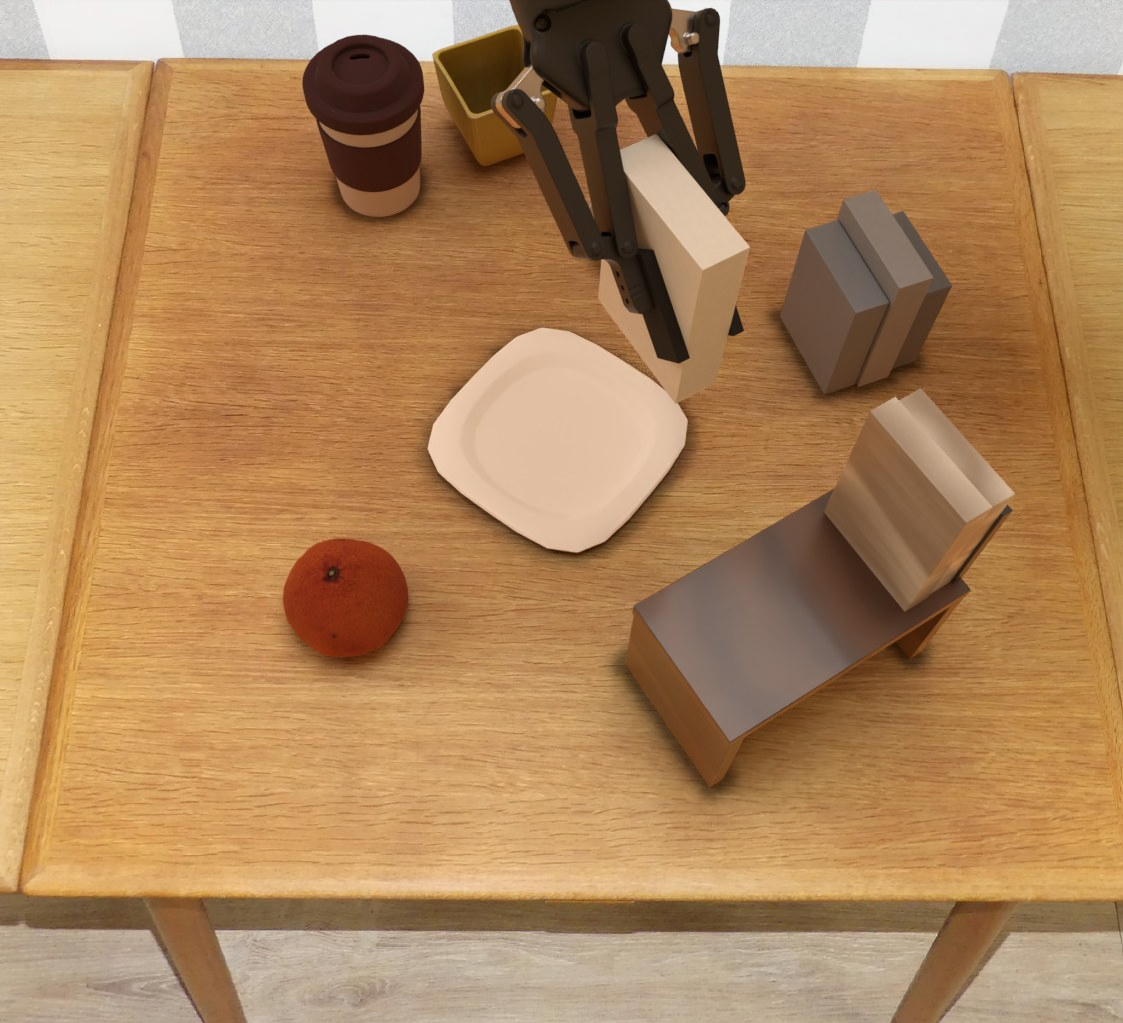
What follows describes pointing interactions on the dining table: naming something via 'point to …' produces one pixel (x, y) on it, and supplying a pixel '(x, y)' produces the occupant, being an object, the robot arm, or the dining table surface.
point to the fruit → (345, 597)
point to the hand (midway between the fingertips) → (700, 343)
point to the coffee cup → (369, 120)
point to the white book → (679, 266)
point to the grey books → (862, 294)
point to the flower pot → (484, 90)
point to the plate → (558, 439)
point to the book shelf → (820, 585)
